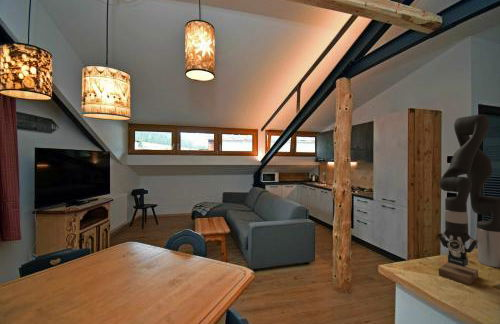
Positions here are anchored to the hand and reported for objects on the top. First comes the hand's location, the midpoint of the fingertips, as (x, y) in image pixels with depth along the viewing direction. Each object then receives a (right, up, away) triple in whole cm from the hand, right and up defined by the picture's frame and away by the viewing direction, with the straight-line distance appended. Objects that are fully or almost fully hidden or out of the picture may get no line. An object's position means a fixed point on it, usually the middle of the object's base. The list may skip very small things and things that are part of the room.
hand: (457, 258), depth 96 cm
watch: (0, -2, 0) cm, 2 cm away
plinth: (0, -8, 0) cm, 8 cm away
